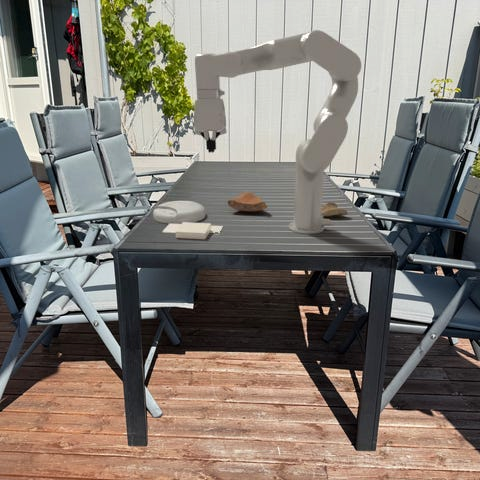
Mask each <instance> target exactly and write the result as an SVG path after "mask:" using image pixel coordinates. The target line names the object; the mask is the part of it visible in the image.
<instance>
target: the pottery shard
mask: <svg viewBox="0 0 480 480" xmlns="http://www.w3.org/2000/svg"><path fill="white" fill-rule="evenodd" d="M337 214H338V215H341V216H347V215H349V213H348V211H347V209H344V208H338V206H337V203H336V202H328V203H325V204H324V205H323V206H322V208H321V216H323V217H332V216H335V215H337Z"/></svg>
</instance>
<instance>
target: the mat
mask: <svg viewBox="0 0 480 480" xmlns="http://www.w3.org/2000/svg"><path fill="white" fill-rule="evenodd" d="M180 225H181V224H170V223H169V224H168V225H167V226H166V227H165V228H164V229H163V230H162V233H173V234H174V233H175V234H176V231H177V229H178V228H179V227H180ZM223 229H224V225H212V224H211V231H210V232H212V233H215V232H218V233H219V234H220V233H221V232H220V231H222V230H223Z"/></svg>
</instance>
